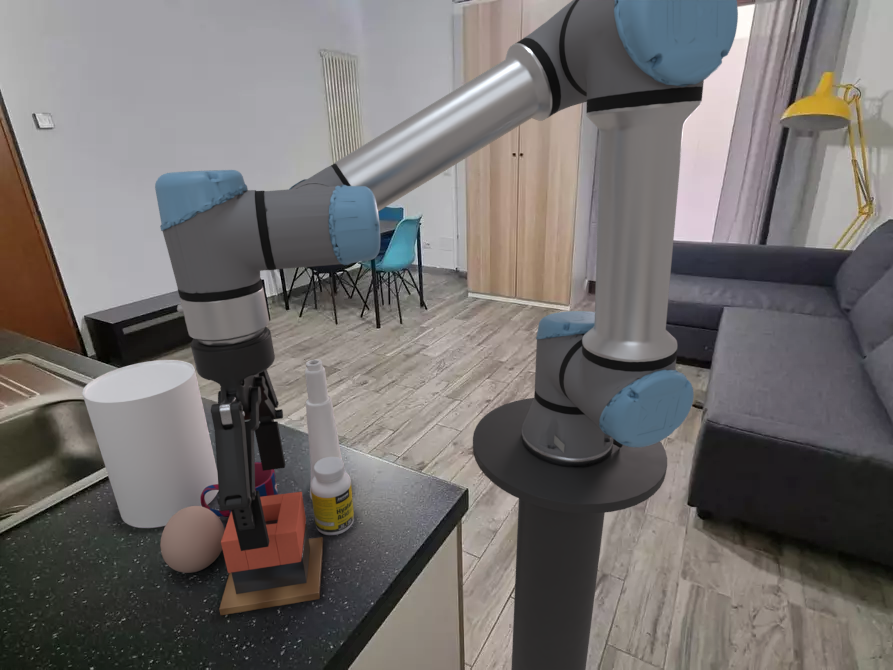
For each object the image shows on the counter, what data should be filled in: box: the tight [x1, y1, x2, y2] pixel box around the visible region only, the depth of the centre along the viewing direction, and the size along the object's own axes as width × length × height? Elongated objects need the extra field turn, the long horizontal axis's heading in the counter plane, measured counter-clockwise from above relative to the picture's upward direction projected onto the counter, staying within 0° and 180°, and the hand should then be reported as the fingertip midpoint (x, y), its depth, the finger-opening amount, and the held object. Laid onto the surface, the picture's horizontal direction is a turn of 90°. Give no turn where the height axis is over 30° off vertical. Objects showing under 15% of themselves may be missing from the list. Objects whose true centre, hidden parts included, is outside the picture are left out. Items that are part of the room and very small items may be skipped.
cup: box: [200, 461, 279, 518], centre depth 69 cm, size 7×10×7 cm
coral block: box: [221, 491, 307, 574], centre depth 58 cm, size 8×7×4 cm
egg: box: [159, 506, 225, 574], centre depth 61 cm, size 7×7×8 cm
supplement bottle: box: [310, 457, 355, 536], centre depth 67 cm, size 5×5×10 cm
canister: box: [81, 359, 219, 529], centre depth 71 cm, size 14×14×20 cm
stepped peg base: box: [218, 520, 324, 616], centre depth 59 cm, size 11×9×8 cm
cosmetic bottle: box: [304, 358, 343, 500], centre depth 71 cm, size 6×6×22 cm
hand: (265, 502), depth 56 cm, fingers open, 13 cm apart
